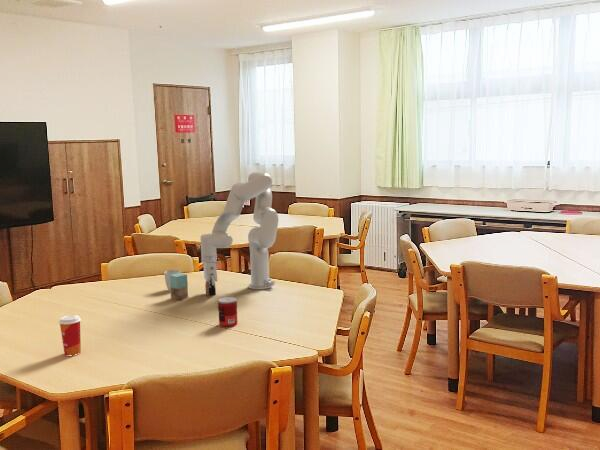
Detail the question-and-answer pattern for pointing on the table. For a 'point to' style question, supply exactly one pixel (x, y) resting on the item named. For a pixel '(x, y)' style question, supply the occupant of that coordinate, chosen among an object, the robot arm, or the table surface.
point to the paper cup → (71, 334)
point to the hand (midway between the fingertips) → (210, 293)
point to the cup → (167, 277)
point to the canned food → (227, 311)
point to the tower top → (178, 281)
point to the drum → (208, 289)
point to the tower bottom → (179, 293)
